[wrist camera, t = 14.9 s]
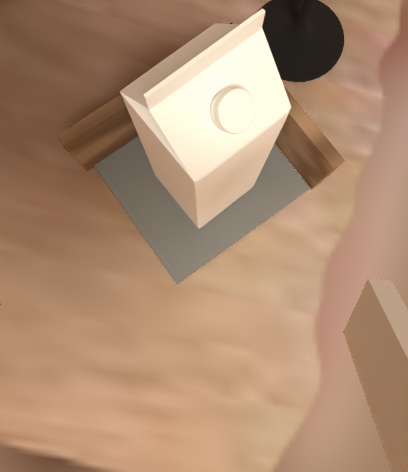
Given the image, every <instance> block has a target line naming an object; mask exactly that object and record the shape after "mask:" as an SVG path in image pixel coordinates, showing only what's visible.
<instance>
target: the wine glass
mask: <svg viewBox="0 0 408 472" xmlns="http://www.w3.org/2000/svg"><path fill="white" fill-rule="evenodd" d="M261 9H264V10H265V16H264V21H263V25H262V29H263V31H264V34H265V37H266V40H267V42H268V45H269V48H270V50H271V53H272V56H273V59H274V61H275V64H276V67H277V69H278V72H279V75H280V78H281V79H283V80H287V81H293V82H305V81H309V80H313V79H316V78H319V77H321V76H322V75H324V74H326V73H327V72H328V71H330V70H331V69H332V68H333V66H334V65H335V64H336V63H337V61H338V59H339V58H340V56H341V53H342V51H343V46H344V33H343V29H342V26H341V23H340V21H339V19H338V17H337V16H336V15H335V13H334V12H333V11H332V10H331V9H330V8H329V7H328V6H326V5H325V4H324V3H322V2H320V1H318V0H272V1H270V2H268V3H267V4H266V5H264V6H263V7H262V8H261ZM261 9H260V10H261ZM260 10H259V11H260Z"/></svg>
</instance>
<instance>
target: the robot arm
mask: <svg viewBox="0 0 408 472" xmlns="http://www.w3.org/2000/svg"><path fill="white" fill-rule="evenodd" d="M0 305H1V302H0ZM344 335H345V338H346V341H347V344H348V347H349V350H350V353H351V355H352V358H353V362H354V364H355V367H356V370H357V373H358V376H359V379H360V381H361V385H362V387H363V390H364V393H365V396H366V399H367V402H368V405H369V408H370V411H371V414H372V417H373V419H374V422H375V425H376V428H377V431H378V434H379V437H380V439H381V443H382V445H383V448H384V451H385V454H386V457H387V460H388V463H389V466H390V469H391V471H392V472H408V310H407V308H406V306H405V304H404V303H403V301H402V299H401V297H400V296H399V294H398V292H397V291H396V289H395V287H394V285H393V283H392V282H391V281H390V280H378V279H368V280H367V282H366V284H365V286H364V288H363V291H362V293H361V295H360V297H359V299H358V301H357V304H356V306H355V308H354V310H353V312H352V315H351V317H350V319H349V321H348V323H347V325H346V328H345V329H344Z"/></svg>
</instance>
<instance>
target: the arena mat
mask: <svg viewBox="0 0 408 472" xmlns="http://www.w3.org/2000/svg"><path fill="white" fill-rule="evenodd" d="M94 167H95V168H96V170H97V171H98V172H99V174H100V175H101V177H102V178H103V179H104V181H105V182H106V184H107V185H108V187H109V188H110V189H111V191H112V192H113V194H114V195H115V197H116V198H117V199H118V201H119V202H120V204H121V205H122V207H123V208H124V209H125V211H126V212H127V214H128V215H129V217H130V218H131V219H132V221H133V222H134V224H135V225H136V227H137V228H138V229H139V231H140V232H141V234H142V235H143V236H144V238H145V239H146V241H147V242H148V244H149V245H150V246H151V248H152V249H153V251H154V252H155V254H156V255H157V256H158V258H159V259H160V261H161V262H162V264H163V265H164V266H165V268H166V269H167V271H168V272H169V274H170V275H171V276H172V278H173V279H174V281H175V282H176V284H178V283H180V282H181V281H182V280H184V279H185V278H187V277H188V276H189V275H191V274H192V273H193V272H195V271H196V270H198V269H199V268H200V267H202V266H203V265H205V264H206V263H207V262H209V261H210V260H211V259H213V258H214V257H216V256H217V255H218V254H220V253H221V252H223V251H224V250H225V249H227V248H228V247H229V246H231V245H232V244H234V243H235V242H236V241H238V240H239V239H241V238H242V237H243V236H245V235H246V234H247V233H249V232H250V231H252V230H253V229H254V228H256V227H257V226H259V225H260V224H261V223H263V222H264V221H266V220H267V219H268V218H270V217H271V216H272V215H274V214H275V213H277V212H278V211H279V210H281V209H282V208H284V207H285V206H286V205H288V204H289V203H290V202H292V201H293V200H295V199H296V198H297V197H299V196H300V195H302V194H303V193H304V192H306V191H307V190H308V189H310V188H309V187H308V186H307V185H306V183H305V182H304V181H303V180H302V178H301V177H300V176H299V175H298V173H297V172H296V171H295V170H294V168H293V167H292V166H291V164H290V163H289V162H288V161H287V159H286V158H285V157H284V156H283V154H282V153H281V152H280V151H279V149H278V148H277V147H276V146H275V144H274V145H273V147H272V149H271V151H270V153H269V155H268V157H267V160H266V162H265V164H264V166H263V168H262V170H261V172H260V174H259V176H258V178H257V180H256V182H255V184H254V186H253V187H252V188H251V189H250V190H249V191H247V192H246V193H245V194H243V195H242V196H241V197H240V198H238V199H237V200H236V201H235V202H233V203H232V204H231V205H229V206H228V207H227V208H226V209H224V210H223V211H222V212H221V213H219V214H218V215H217V216H215V217H214V218H213V219H212V220H210V221H209V222H208V223H207V224H205V225H204V226H203V227H201V228H200V229H198V228H197V227H196V225H195V224H194V223H193V222H192V220H191V219H190V218H189V217H188V215H187V214H186V213H185V212H184V210H183V209H182V208H181V207H180V206H179V204H178V203H177V202H176V201H175V199H174V198H173V197H172V196H171V194H170V193H169V192H168V191H167V189H166V188H165V187H164V186H163V185H162V183H161V182H160V181H159V180H158V178H157V177H156V176H155V174H154V171H153V169H152V167H151V164H150V162H149V159H148V157H147V155H146V152H145V150H144V147H143V145H142V143H141V140H140V138H139V136H138V137H136V138H134V139H133V140H131V141H130V142H128V143H127V144H125V145H124V146H122V147H121V148H119V149H118V150H116V151H115V152H113V153H112V154H110V155H109V156H107V157H106V158H104V159H103V160H101V161H100V162H98V163H97V164H95V165H94Z"/></svg>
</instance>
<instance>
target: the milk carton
mask: <svg viewBox="0 0 408 472" xmlns="http://www.w3.org/2000/svg"><path fill="white" fill-rule="evenodd" d="M264 16H265V10H264V9H261V10H260V11H258V12H257V13H256V14H254V15H253V16H251V17H250V18H249V19H247V20H246V21H245V22H243V23H242V24H240V25H239V24H220V23H215V24H213V25H212V26H210V27H209V28H207V29H206V30H205V31H203V32H202V33H200V34H199V35H198V36H196V37H195V38H193V39H192V40H191V41H189V42H188V43H186V44H185V45H184V46H182V47H181V48H179V49H178V50H177V51H175V52H174V53H172V54H171V55H170V56H168V57H167V58H165V59H164V60H163V61H161V62H160V63H158V64H157V65H156V66H154V67H153V68H151V69H150V70H149V71H147V72H146V73H144V74H143V75H142V76H140V77H139V78H137V79H136V80H135V81H133V82H132V83H130V84H129V85H128V86H126V87H125V88H124V89H122V90H121V91H120V93H121V95H122V97H123V100H124V102H125V105H126V107H127V109H128V112H129V114H130V116H131V119H132V121H133V124H134V126H135V128H136V131H137V133H138V136H139V138H140V140H141V143H142V145H143V147H144V150H145V152H146V155H147V157H148V159H149V162H150V164H151V167H152V169H153V171H154V174H155V176H156V177H157V178H158V180H159V181H160V182H161V183H162V185H163V186H164V187H165V188H166V189H167V191H168V192H169V193H170V194H171V196H172V197H173V198H174V199H175V201H176V202H177V203H178V204H179V206H180V207H181V208H182V209H183V210H184V212H185V213H186V214H187V215H188V217H189V218H190V219H191V220H192V222H193V223H194V224H195V225H196V227H197V228H198V229H200V228H201V227H203V226H204V225H205V224H207V223H208V222H209V221H210V220H212V219H213V218H214V217H215V216H217V215H218V214H219V213H221V212H222V211H223V210H224V209H226V208H227V207H228V206H229V205H231V204H232V203H233V202H235V201H236V200H237V199H238V198H240V197H241V196H242V195H243V194H245V193H246V192H247V191H249V190H250V189H251V188H252V187H253V186H254V184H255V182H256V180H257V178H258V176H259V174H260V172H261V170H262V168H263V166H264V164H265V162H266V160H267V157H268V155H269V153H270V151H271V149H272V147H273V145H274V143H275V141H276V139H277V137H278V135H279V133H280V131H281V129H282V127H283V125H284V123H285V120H286V118H287V116H288V114H289V111H290V109H291V105H290V102H289V99H288V96H287V94H286V91H285V88H284V86H283V83H282V80H281V78H280V75H279V72H278V69H277V67H276V64H275V61H274V59H273V56H272V53H271V50H270V48H269V45H268V42H267V40H266V37H265V34H264V31H263V29H262V25H263V21H264Z"/></svg>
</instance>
